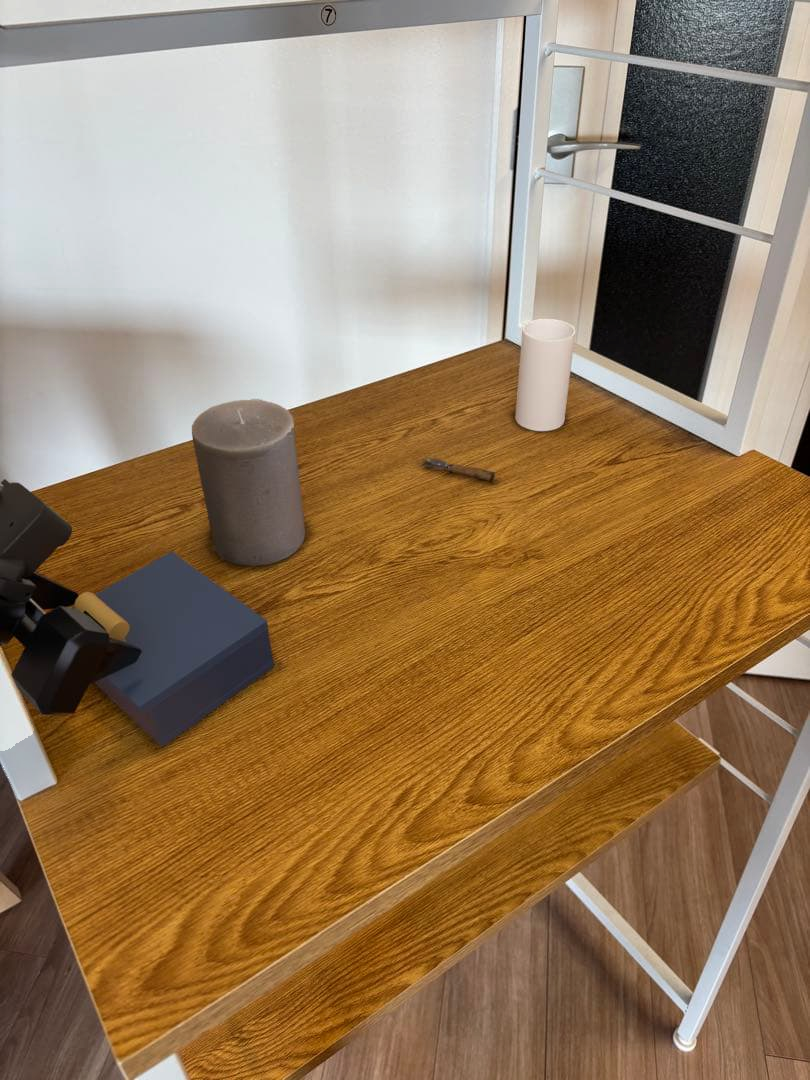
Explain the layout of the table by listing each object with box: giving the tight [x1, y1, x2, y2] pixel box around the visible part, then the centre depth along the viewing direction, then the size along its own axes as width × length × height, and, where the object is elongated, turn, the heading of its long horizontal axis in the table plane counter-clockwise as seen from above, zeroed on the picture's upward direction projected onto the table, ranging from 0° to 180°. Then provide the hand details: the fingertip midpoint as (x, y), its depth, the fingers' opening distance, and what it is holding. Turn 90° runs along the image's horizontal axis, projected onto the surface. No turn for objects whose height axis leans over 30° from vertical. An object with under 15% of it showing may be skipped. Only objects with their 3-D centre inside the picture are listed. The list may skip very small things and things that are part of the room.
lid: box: [71, 551, 269, 713], centre depth 68 cm, size 12×14×5 cm
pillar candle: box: [191, 398, 306, 567], centre depth 82 cm, size 10×10×15 cm
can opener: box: [421, 458, 496, 482], centre depth 95 cm, size 9×2×1 cm, turn 61°
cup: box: [514, 318, 576, 432], centre depth 101 cm, size 6×6×12 cm
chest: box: [93, 627, 275, 748], centre depth 71 cm, size 12×14×5 cm
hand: (105, 626), depth 65 cm, fingers open, 9 cm apart
